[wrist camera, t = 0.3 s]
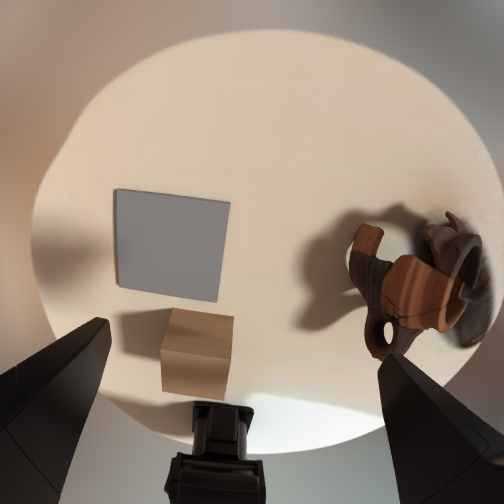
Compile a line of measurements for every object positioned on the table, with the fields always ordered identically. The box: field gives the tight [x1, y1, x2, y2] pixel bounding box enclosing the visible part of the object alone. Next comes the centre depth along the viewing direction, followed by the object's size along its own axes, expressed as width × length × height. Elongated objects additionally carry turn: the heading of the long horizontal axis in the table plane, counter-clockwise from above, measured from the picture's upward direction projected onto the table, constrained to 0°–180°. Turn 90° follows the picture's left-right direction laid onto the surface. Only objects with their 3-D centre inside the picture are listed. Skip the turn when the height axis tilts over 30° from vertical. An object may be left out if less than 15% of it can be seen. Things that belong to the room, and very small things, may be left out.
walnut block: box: [160, 308, 234, 400], centre depth 24 cm, size 5×5×5 cm
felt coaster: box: [117, 189, 230, 303], centre depth 22 cm, size 8×8×1 cm
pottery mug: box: [349, 211, 482, 362], centre depth 21 cm, size 12×10×8 cm
